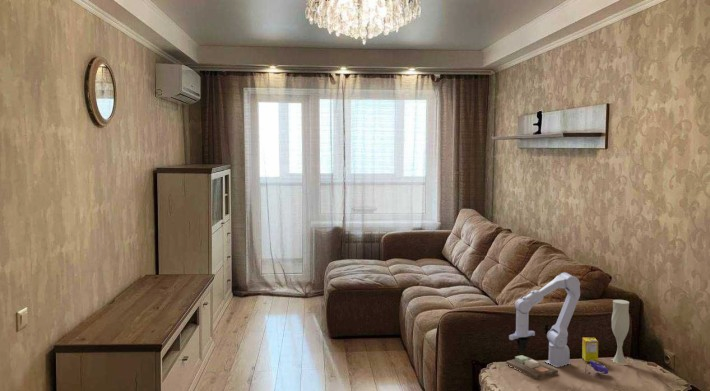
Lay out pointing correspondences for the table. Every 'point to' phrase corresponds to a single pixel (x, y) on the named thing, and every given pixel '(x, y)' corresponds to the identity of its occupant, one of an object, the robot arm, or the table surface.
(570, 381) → the table surface
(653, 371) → the table surface
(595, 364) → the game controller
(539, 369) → the terracotta button
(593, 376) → the table surface
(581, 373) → the table surface
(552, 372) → the button panel
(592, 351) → the supplement box
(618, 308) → the vase
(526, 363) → the cream button
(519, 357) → the sage button
